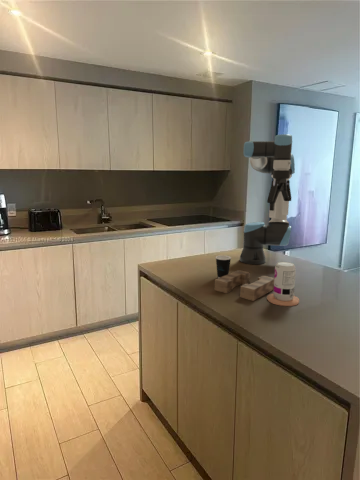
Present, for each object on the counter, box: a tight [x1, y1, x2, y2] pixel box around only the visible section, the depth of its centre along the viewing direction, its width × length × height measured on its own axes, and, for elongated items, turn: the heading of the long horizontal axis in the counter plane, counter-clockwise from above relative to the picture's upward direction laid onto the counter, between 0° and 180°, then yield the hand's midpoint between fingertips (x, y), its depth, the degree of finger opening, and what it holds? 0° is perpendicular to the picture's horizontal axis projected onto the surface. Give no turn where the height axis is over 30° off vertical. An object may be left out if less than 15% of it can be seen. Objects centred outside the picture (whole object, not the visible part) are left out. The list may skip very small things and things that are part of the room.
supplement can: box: [272, 261, 297, 301], centre depth 145 cm, size 8×8×15 cm
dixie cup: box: [214, 254, 232, 279], centre depth 174 cm, size 8×8×11 cm
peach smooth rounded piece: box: [266, 293, 300, 307], centre depth 146 cm, size 13×13×1 cm
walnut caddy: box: [214, 269, 274, 302], centre depth 159 cm, size 20×20×5 cm
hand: (278, 216), depth 162 cm, fingers open, 13 cm apart
